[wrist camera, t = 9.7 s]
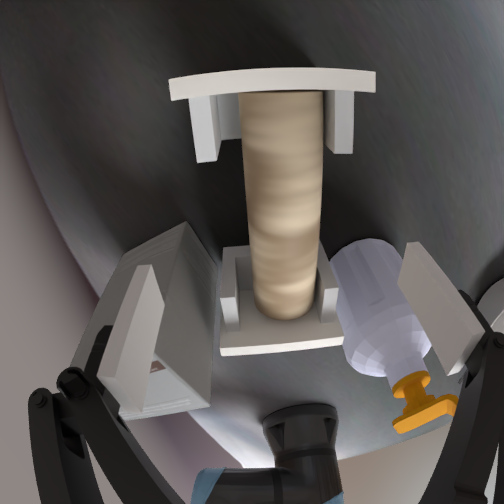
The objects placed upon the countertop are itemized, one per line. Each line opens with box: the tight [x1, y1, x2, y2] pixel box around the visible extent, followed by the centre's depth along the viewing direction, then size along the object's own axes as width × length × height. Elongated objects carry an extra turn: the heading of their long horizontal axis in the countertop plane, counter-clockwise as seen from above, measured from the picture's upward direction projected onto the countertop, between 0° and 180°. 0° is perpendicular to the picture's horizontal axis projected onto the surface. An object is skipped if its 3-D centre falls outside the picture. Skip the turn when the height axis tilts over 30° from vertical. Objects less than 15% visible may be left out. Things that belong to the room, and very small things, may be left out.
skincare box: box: [70, 221, 218, 420], centre depth 23 cm, size 8×7×16 cm
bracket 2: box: [220, 240, 344, 356], centre depth 24 cm, size 4×9×11 cm, turn 94°
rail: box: [238, 89, 323, 320], centre depth 19 cm, size 15×5×5 cm
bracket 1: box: [169, 68, 375, 163], centre depth 17 cm, size 4×9×11 cm, turn 94°
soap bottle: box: [329, 238, 459, 434], centre depth 21 cm, size 9×9×25 cm
